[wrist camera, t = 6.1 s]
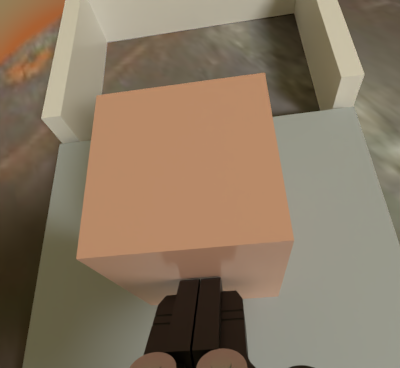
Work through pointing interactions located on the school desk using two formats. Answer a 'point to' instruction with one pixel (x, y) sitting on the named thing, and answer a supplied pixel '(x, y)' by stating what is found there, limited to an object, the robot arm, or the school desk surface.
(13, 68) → the school desk surface
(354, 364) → the far plate
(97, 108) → the tile block
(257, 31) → the school desk surface
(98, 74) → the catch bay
